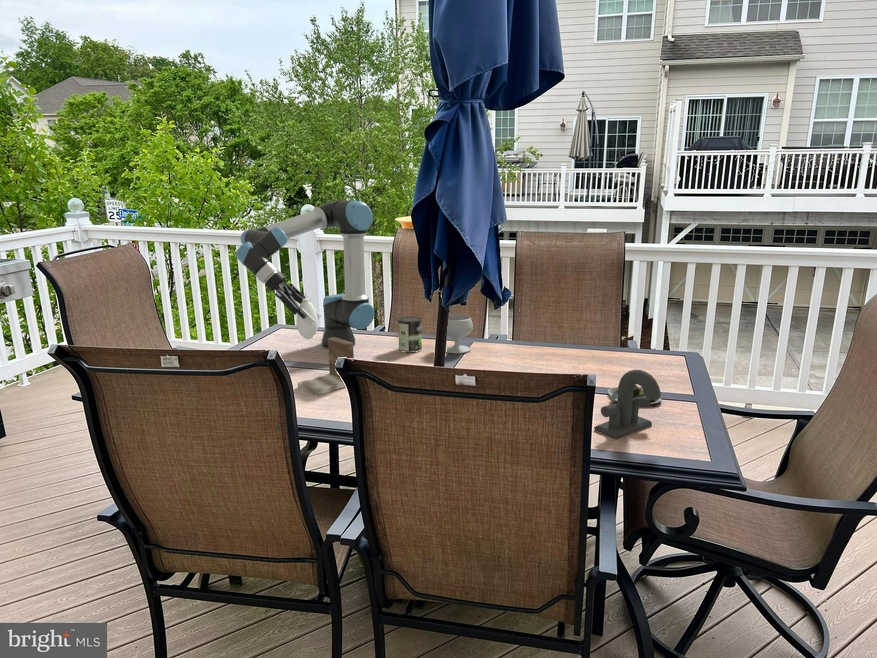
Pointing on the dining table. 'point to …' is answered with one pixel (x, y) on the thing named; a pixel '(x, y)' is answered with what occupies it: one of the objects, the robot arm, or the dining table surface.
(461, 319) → the chalice
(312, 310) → the sauce bottle
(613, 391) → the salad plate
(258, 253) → the robot arm
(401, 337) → the coffee can
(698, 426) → the dining table surface
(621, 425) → the faucet
